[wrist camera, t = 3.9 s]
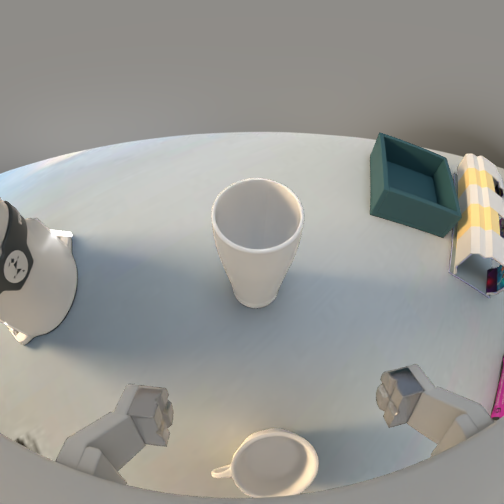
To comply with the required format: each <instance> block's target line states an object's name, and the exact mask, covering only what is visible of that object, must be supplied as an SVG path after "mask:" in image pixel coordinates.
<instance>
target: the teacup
mask: <svg viewBox="0 0 504 504" xmlns="http://www.w3.org/2000/svg"><path fill="white" fill-rule="evenodd" d="M318 467H319V459H318V455H317V453H316V451H315V449H314V447H313V446H312V445H311V444H310V443H309V442H308V441H307V440H306V439H304V438H303V437H301V436H299V435H297V434H295V433H293V432H290V431H288V430H285V429H281V428H271V429H267V430H263V431H258V432H255V433H253V434H251V435H250V436H248V437H247V438H246V439H245V440H244V442H243V443H242V444H241V445H240V447H239V448H238V449H237V451H236V452H235V454H234V456H233V459H232V463H231V464H229V465H227V466H224V467H220V468H217V469H214V470H213V471H212V472H211V474H212V476H213V477H215V478H233V481H234V483H235V484H236V486H237V487H238V488H239V489H240V490H241V491H242V492H243V493H245V494H246V495H248V496H250V497H252V498H262V497H277V496H288V495H296V494H299V493H301V492H303V491H304V490H305V489H306V488H307V487H308V486H309V485H310V484H311V483H312V482H313V480H314V479H315V477H316V475H317V472H318Z"/></svg>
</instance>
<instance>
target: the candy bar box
mask: <svg viewBox="0 0 504 504" xmlns="http://www.w3.org/2000/svg"><path fill="white" fill-rule="evenodd" d="M503 416H504V357H503V364H502V370H501V376H500V381H499V386H498V391H497V395H496V399H495V403H494V407H493V411H492V414H491V418H492V419H493V421H497V420H498V419H500V418H501V417H503Z"/></svg>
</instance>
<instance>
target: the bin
mask: <svg viewBox="0 0 504 504" xmlns="http://www.w3.org/2000/svg"><path fill="white" fill-rule="evenodd" d="M370 177H371V199H370V215H374V216H377V217H380V218H384V219H387V220H390V221H394V222H397V223H400V224H403V225H406V226H409V227H413V228H416V229H419V230H422V231H425V232H428V233H431V234H434V235H436V236H439V237H442V238H444V237H445V236H446V234H447V233H448V232H449V231H450V230H451V229H452V228H453V227H454V226H455V225H456V224H457V223H458V221H459V220H460V219H461V218H462V215H461V211H460V206H459V202H458V198H457V194H456V190H455V186H454V182H453V178H452V175H451V172H450V168H449V165H448V162H447V159H446V158H445V157H443V156H440V155H438V154H436V153H434V152H431V151H429V150H426V149H424V148H421V147H419V146H416V145H413V144H411V143H408V142H405V141H403V140H400V139H397V138H395V137H392V136H389V135H386V134H383V133H379V135H378V138H377V140H376V143H375V145H374V148H373V150H372V153H371V155H370Z"/></svg>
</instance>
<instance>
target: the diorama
mask: <svg viewBox="0 0 504 504" xmlns="http://www.w3.org/2000/svg"><path fill="white" fill-rule="evenodd" d="M457 171H458V175H456V174H455V173H454V186H455V190H456V194H457V198H458V202H459V206H460V211H461V215H462V218H461V219H460V220H459V221H458V223H457V224H456V225H455V226H454V227H453V237H452V248H451V258H450V266H449V273H450V274H452V275H454V276H455V277H457V278H458V279H460V280H462V281H463V282H465V283H466V284H468V285H470V286H471V287H473V288H474V289H476V290H477V291H479V292H481V293H482V294H484V295H485V296H487V297H488V298H490V295H493V294H498V293H500V292H501V291H503V290H504V202H503V198H504V187H503V182H502V178H501V174H500V173H498V171H497V167H496V166H495V165H494V164H492V163H491V162H490V161H488V160H487V159H486V158H484V157H483V156H478V157H476V156H475V155H474V154H466V155H465V156H464V158H463V160H462V161H461V163H460V164H459V166H458V167H457ZM498 215H499V216H501V217H502V218H501V219H500V220H499V216H498ZM492 259H494V260H496V261H497V262H498V263H500V264H501V265H500V266H499V267H497V268H493V269H492Z"/></svg>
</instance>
